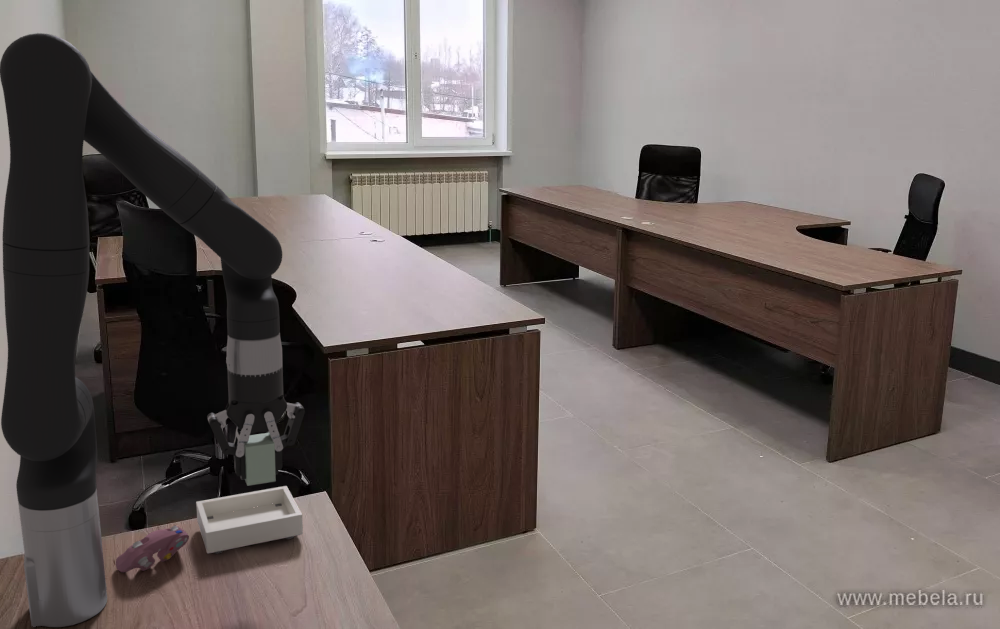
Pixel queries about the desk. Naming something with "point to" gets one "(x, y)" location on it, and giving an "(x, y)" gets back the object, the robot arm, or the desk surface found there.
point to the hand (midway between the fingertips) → (259, 474)
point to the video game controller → (152, 549)
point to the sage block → (260, 459)
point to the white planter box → (248, 519)
